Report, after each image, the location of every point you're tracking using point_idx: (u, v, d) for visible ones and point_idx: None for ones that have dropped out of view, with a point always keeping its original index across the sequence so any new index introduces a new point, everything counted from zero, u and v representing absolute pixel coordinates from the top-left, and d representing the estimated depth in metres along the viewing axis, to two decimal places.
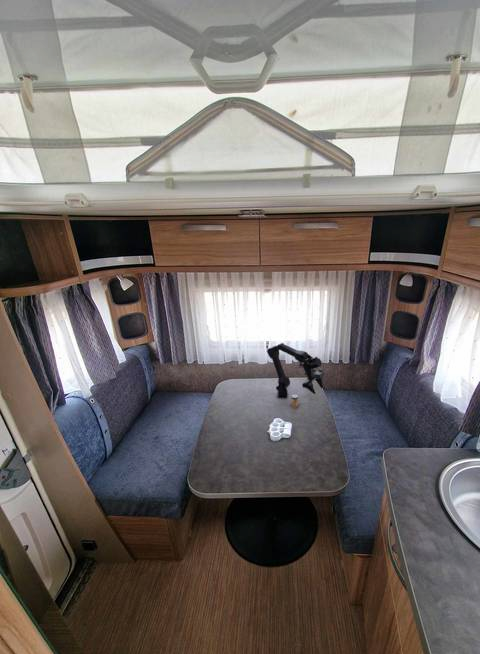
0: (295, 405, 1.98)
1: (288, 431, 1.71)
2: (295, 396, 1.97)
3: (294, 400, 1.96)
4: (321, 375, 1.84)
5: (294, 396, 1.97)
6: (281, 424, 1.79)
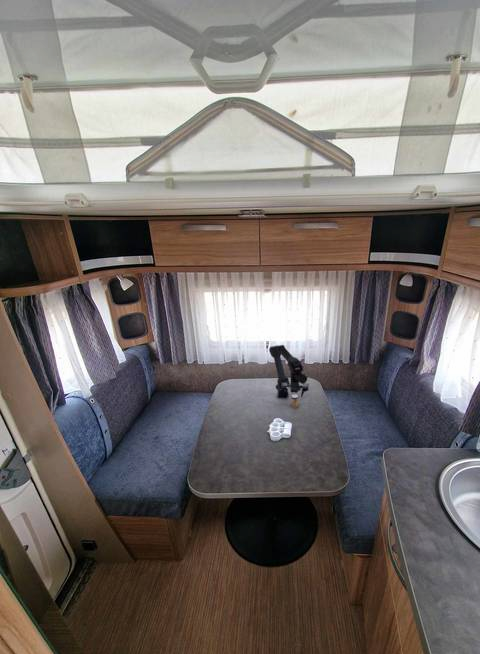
0: (295, 405, 1.98)
1: (288, 431, 1.71)
2: (295, 396, 1.97)
3: (294, 400, 1.96)
4: (293, 390, 1.86)
5: (294, 396, 1.97)
6: (281, 424, 1.79)
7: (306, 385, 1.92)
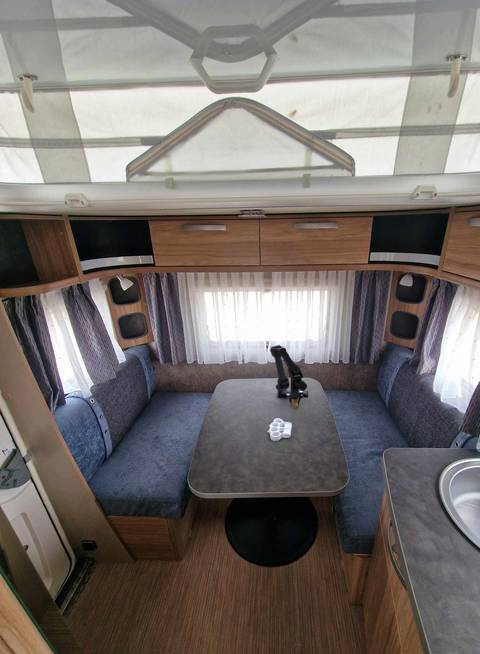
0: (295, 405, 1.98)
1: (288, 431, 1.71)
2: None
3: (294, 400, 1.96)
4: (293, 397, 1.89)
5: None
6: (281, 424, 1.79)
7: (306, 392, 1.94)
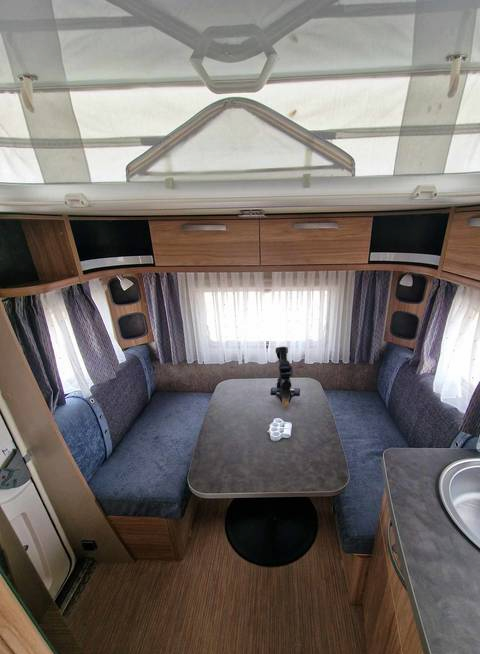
0: (286, 404, 1.84)
1: (288, 431, 1.71)
2: None
3: (285, 399, 1.82)
4: (284, 396, 1.74)
5: None
6: (281, 424, 1.79)
7: (297, 390, 1.80)
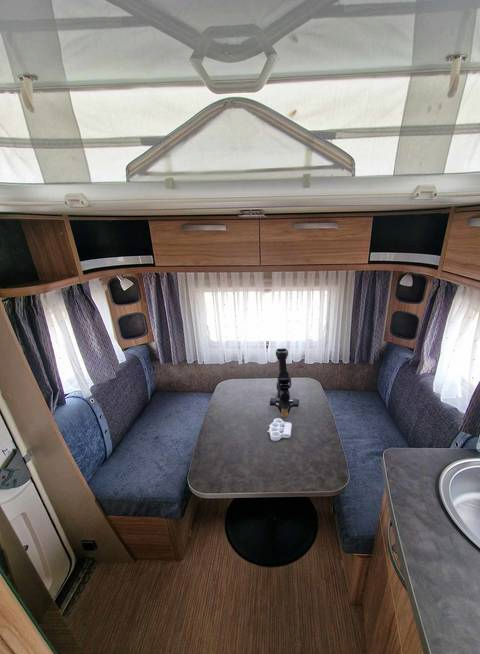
0: (285, 415, 1.86)
1: (288, 431, 1.71)
2: None
3: (284, 409, 1.84)
4: (282, 407, 1.76)
5: None
6: (281, 424, 1.79)
7: (296, 401, 1.82)
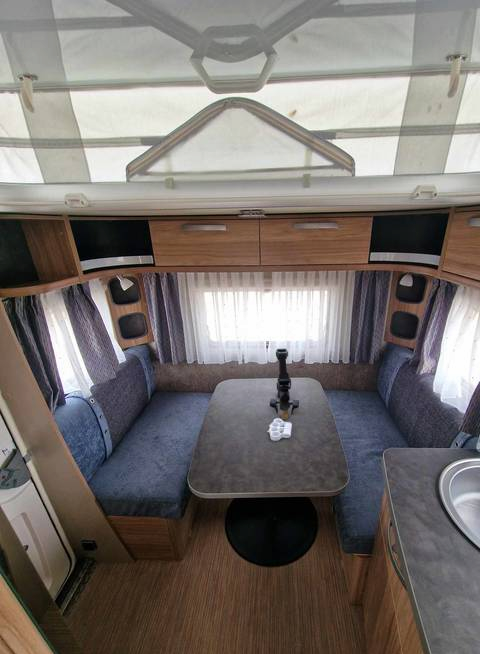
0: (285, 417, 1.86)
1: (288, 431, 1.71)
2: None
3: (284, 411, 1.84)
4: (283, 408, 1.77)
5: None
6: (281, 424, 1.79)
7: (296, 402, 1.82)
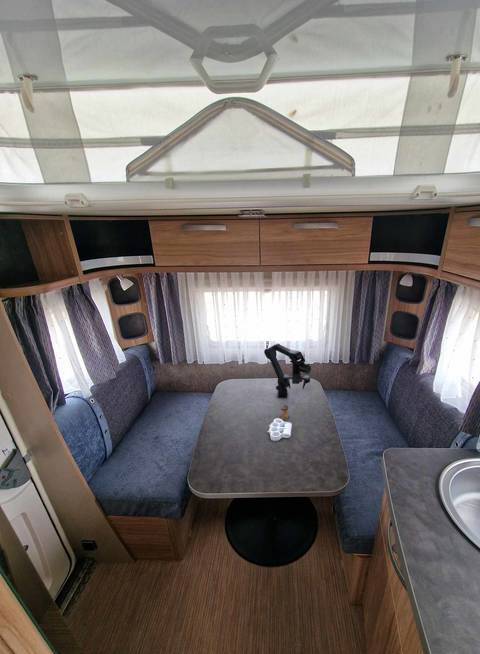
0: (285, 417, 1.86)
1: (288, 431, 1.71)
2: (285, 407, 1.85)
3: (284, 411, 1.84)
4: (295, 382, 1.89)
5: (284, 407, 1.85)
6: (281, 424, 1.79)
7: (308, 377, 1.94)
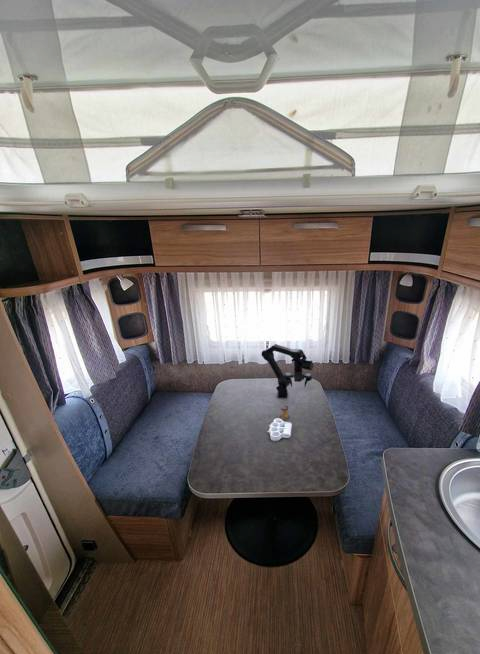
0: (285, 417, 1.86)
1: (288, 431, 1.71)
2: (285, 407, 1.85)
3: (284, 411, 1.84)
4: (297, 380, 1.92)
5: (284, 407, 1.85)
6: (281, 424, 1.79)
7: (309, 375, 1.97)
